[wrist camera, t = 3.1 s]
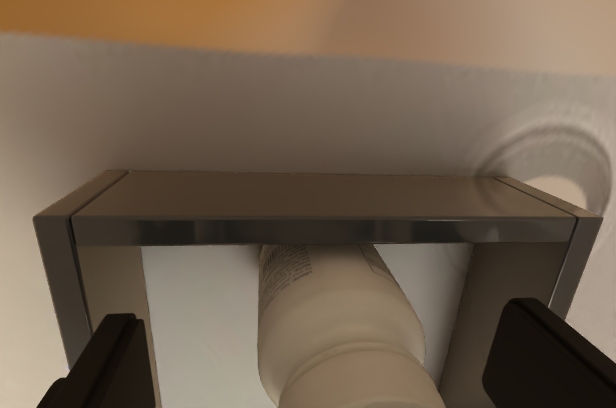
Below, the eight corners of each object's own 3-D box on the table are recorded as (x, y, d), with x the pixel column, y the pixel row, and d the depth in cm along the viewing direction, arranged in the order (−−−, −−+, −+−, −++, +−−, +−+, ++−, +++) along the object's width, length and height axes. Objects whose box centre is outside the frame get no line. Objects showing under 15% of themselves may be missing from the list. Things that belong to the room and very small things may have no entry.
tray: (510, 176, 13) (604, 217, 10) (439, 440, 18) (483, 533, 15) (105, 169, 11) (29, 216, 8) (151, 465, 17) (120, 579, 13)
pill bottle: (259, 307, 14) (254, 552, 7) (259, 206, 13) (253, 388, 5) (364, 303, 15) (460, 527, 8) (376, 206, 13) (512, 371, 6)
